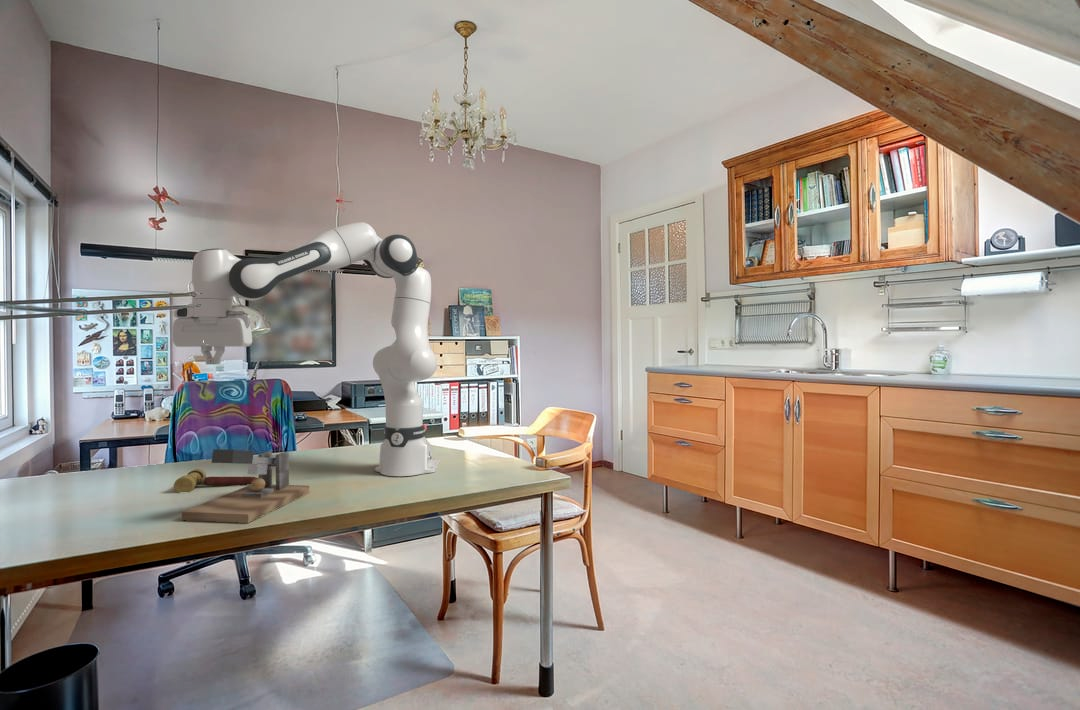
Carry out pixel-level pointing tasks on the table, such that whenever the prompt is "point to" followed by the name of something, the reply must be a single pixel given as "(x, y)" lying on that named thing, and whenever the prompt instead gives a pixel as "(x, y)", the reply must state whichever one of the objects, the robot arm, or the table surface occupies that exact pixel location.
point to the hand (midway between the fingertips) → (213, 364)
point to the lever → (244, 460)
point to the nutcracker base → (251, 497)
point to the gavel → (207, 481)
